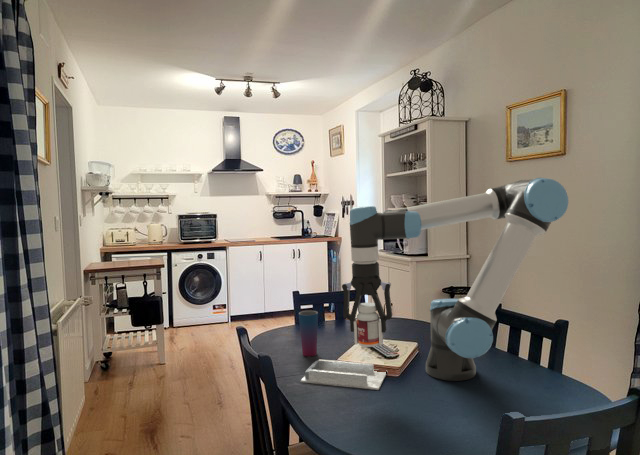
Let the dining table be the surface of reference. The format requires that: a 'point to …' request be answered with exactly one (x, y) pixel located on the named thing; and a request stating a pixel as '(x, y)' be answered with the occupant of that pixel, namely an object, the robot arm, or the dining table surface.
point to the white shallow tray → (344, 374)
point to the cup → (308, 332)
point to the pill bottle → (367, 325)
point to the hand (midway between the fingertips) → (369, 343)
